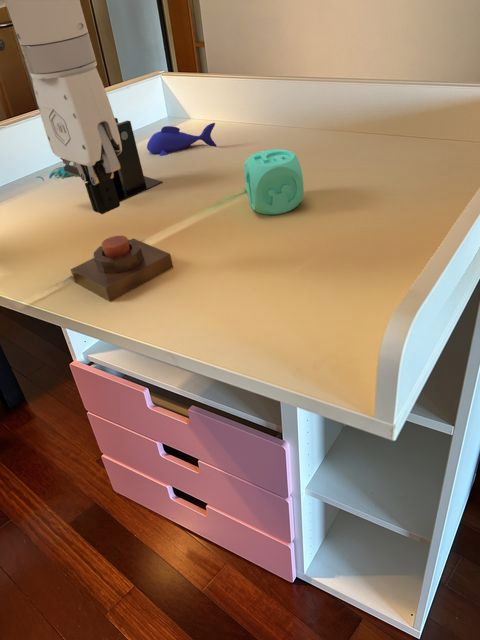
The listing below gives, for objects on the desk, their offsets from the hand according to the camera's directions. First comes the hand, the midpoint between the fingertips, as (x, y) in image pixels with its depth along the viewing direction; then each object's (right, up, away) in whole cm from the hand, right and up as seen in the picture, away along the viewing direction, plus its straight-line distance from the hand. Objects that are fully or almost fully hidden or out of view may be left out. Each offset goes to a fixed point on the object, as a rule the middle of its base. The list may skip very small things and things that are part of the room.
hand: (107, 208), depth 74 cm
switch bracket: (-4, +11, +31) cm, 33 cm away
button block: (+1, -8, +6) cm, 10 cm away
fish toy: (+4, +24, +46) cm, 52 cm away
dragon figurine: (-20, +16, +41) cm, 48 cm away
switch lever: (-8, +15, +24) cm, 29 cm away
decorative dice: (+23, +5, +20) cm, 31 cm away
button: (0, -5, +4) cm, 7 cm away
